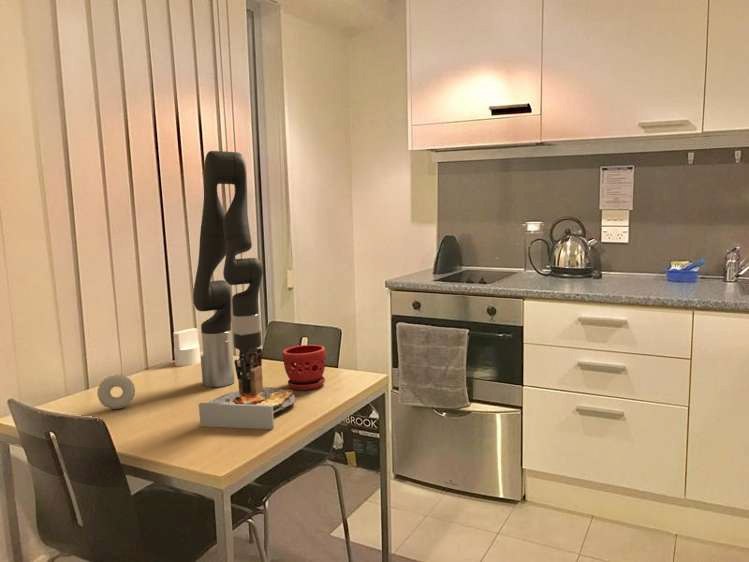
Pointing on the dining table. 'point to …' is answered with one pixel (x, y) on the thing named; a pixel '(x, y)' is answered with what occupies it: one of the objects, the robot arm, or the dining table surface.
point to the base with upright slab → (186, 347)
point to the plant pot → (305, 366)
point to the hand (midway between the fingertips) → (250, 389)
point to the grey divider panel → (236, 415)
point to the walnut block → (253, 382)
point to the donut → (116, 401)
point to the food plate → (261, 398)
